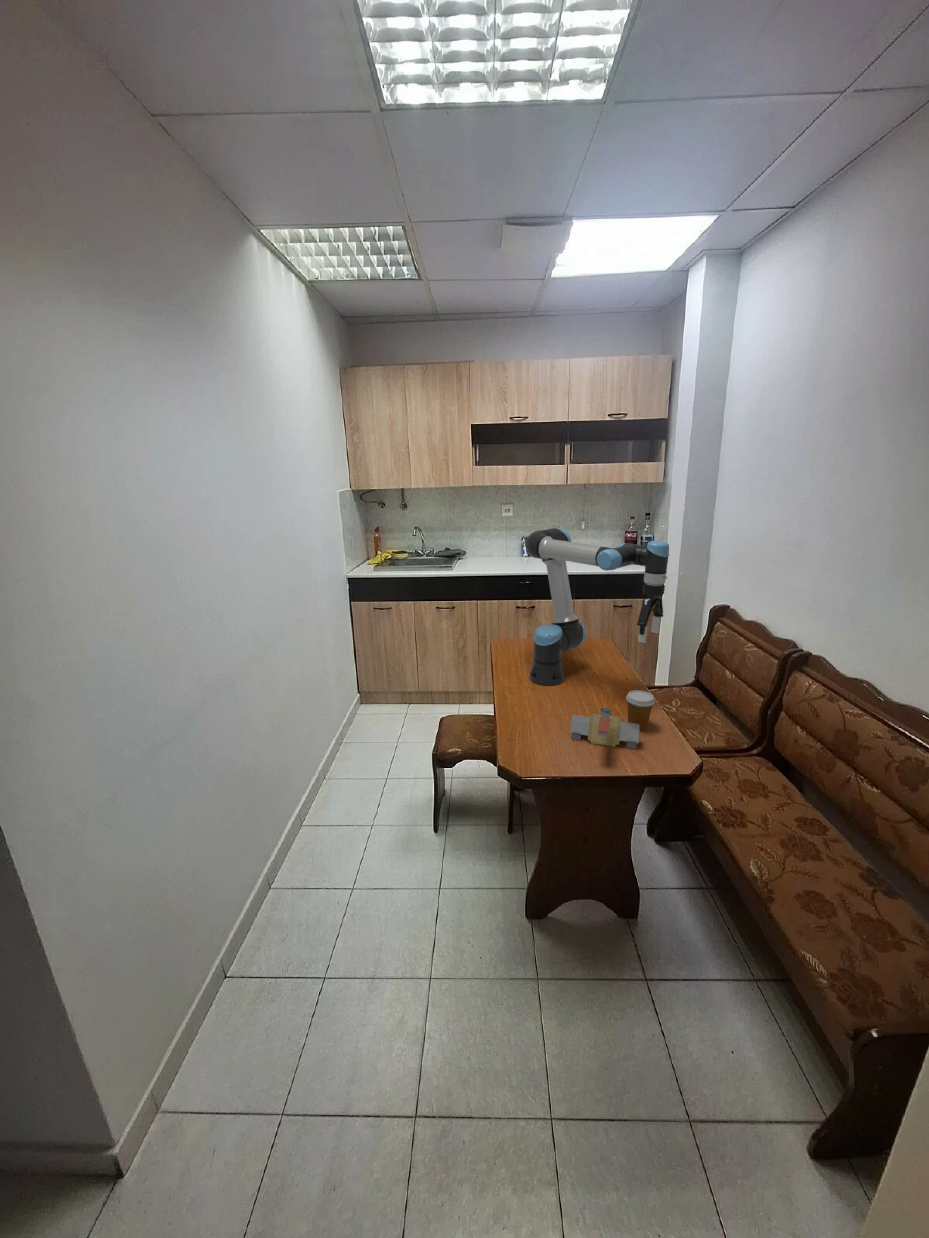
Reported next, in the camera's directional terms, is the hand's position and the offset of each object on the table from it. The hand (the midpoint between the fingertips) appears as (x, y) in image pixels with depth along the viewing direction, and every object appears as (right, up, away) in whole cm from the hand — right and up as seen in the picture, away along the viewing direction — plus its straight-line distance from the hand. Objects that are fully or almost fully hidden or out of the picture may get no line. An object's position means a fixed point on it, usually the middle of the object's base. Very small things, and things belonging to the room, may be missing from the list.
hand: (648, 637), depth 187 cm
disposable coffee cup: (-9, -32, -12) cm, 35 cm away
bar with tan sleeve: (-23, -34, -21) cm, 46 cm away
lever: (-25, -27, -29) cm, 47 cm away
